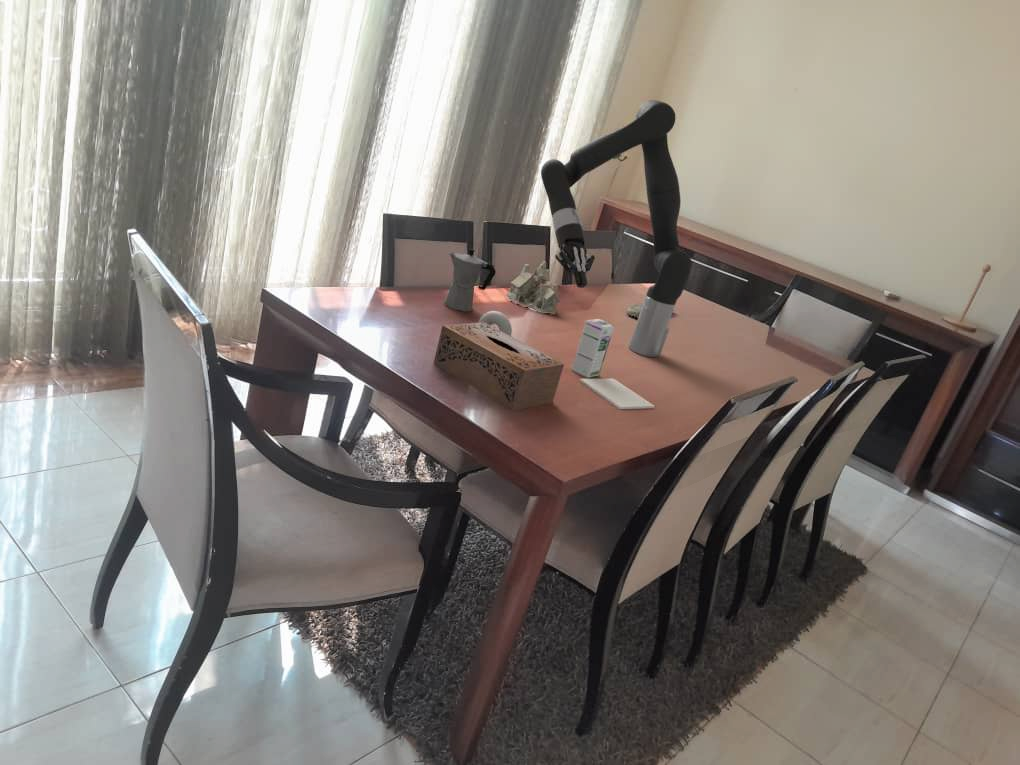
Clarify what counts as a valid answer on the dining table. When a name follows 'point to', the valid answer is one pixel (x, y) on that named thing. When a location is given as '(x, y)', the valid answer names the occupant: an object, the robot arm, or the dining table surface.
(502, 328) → the donut
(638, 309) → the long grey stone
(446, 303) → the coffeepot
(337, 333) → the dining table surface
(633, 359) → the dining table surface
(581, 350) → the syrup box
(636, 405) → the mat
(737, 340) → the dining table surface
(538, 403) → the tissue box cover
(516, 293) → the ceramic cottage
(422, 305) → the dining table surface
